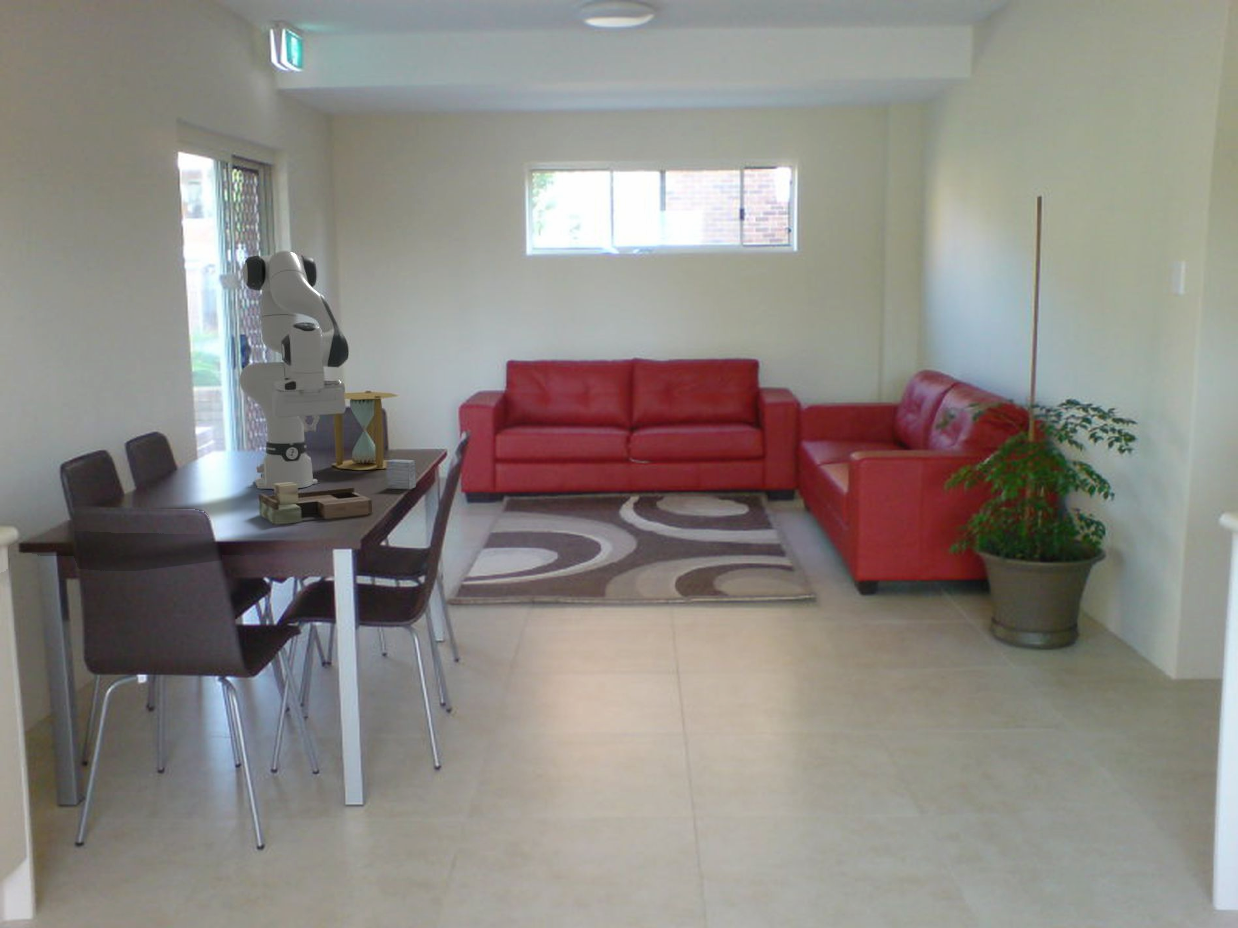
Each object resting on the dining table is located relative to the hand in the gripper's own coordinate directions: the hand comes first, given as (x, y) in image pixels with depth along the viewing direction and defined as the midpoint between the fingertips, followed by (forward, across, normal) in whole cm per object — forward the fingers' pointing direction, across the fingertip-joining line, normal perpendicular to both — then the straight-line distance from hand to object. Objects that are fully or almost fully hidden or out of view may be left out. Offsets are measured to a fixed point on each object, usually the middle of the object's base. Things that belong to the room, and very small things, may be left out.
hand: (309, 431), depth 331 cm
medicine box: (+24, -34, -20) cm, 46 cm away
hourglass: (+25, -40, -67) cm, 82 cm away
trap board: (+22, +1, +6) cm, 23 cm away
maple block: (+18, +8, +4) cm, 21 cm away
